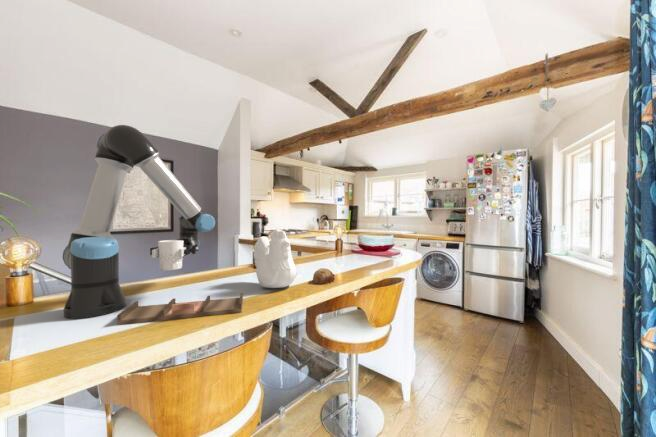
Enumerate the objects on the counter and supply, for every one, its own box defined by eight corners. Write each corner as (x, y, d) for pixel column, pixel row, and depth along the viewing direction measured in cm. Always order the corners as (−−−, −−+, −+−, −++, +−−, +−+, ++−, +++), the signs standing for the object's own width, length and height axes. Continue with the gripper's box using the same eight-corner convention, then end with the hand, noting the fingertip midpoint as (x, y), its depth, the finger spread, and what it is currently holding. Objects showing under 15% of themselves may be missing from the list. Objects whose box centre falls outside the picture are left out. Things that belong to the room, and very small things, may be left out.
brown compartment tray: (117, 324, 74) (117, 310, 74) (135, 310, 86) (135, 297, 86) (241, 312, 83) (241, 299, 83) (242, 300, 95) (242, 289, 95)
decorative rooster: (303, 288, 111) (303, 229, 111) (268, 294, 102) (267, 230, 102) (278, 277, 131) (277, 227, 131) (246, 281, 122) (246, 228, 122)
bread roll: (313, 287, 126) (306, 272, 124) (331, 276, 129) (325, 262, 128) (320, 293, 117) (313, 277, 115) (340, 281, 120) (333, 265, 119)
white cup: (172, 271, 90) (172, 242, 90) (152, 270, 92) (152, 241, 92) (188, 267, 98) (188, 240, 98) (170, 266, 99) (170, 239, 99)
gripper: (209, 254, 115) (199, 263, 93) (156, 256, 109) (131, 266, 87) (209, 237, 115) (199, 241, 93) (156, 238, 109) (131, 243, 87)
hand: (166, 253), depth 90 cm, fingers closed on white cup, 7 cm apart
